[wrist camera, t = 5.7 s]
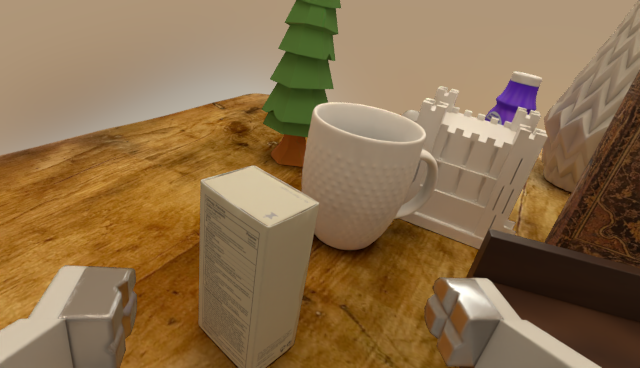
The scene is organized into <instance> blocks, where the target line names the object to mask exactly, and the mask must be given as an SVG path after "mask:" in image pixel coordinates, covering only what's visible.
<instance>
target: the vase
mask: <svg viewBox="0 0 640 368" xmlns="http://www.w3.org/2000/svg"><path fill="white" fill-rule="evenodd" d="M639 70H640V0H639V1H638V2H637V3H636V4H635V5H634V8H633V9H632V10H631V11H630V12H629V13H628V14H627V16H626V17H625V18H624V20H623V21H622V23H621V24H620V25H619V26H618V28H617V30H616V31H615V32H614V34H613V35H612V36H611V37H610V38H609V39H608V40H607V41H606V42H605V44H604V45H603V46H602V47H601V48H600V49H599V50H598V52H597V54H596V55H595V56H594V57H593V58H592V60H591V61H590V62H589V63H588V64H587V66H586V67H585V68H584V69H583V70H582V71H581V72H580V73H579V74H578V75H577V77H576V78H575V80H574V82H573V83H572V85H571V86H570V87H569V88H568V89H567V91H566V92H565V93H564V94H563V95H562V96H561V97H560V98H559V100H558V101H557V102H556V104H555V105H554V106H553V107H552V108H551V109H550V110H549V111H548V113H547V115H546V116H545V118H544V122H545V131H546V134H547V136H548V137H547V139H546V141H545V143H544V145H543V150H542V162H543V164H544V170H543V171H544V177H545V178H546V180H548V181H549V182H550V183H553V185H555V186H557V187H559V188H561V189H564V190H566V191H569V192H572V191H573V190H574V188H575V186H576V184H577V182H578V181H579V179H580V177H581V175H582V173H583V171H584V170H585V168H586V166H587V164H588V162H589V161H590V159H591V157H592V155H593V153H594V151H595V150H596V148H597V146H598V144H599V142H600V141H601V139H602V137H603V135H604V133H605V131H606V130H607V128H608V126H609V124H610V122H611V121H612V119H613V117H614V115H615V113H616V112H617V110H618V108H619V106H620V104H621V102H622V101H623V99H624V97H625V95H626V93H627V92H628V90H629V88H630V86H631V84H632V82H633V81H634V79H635V77H636V75H637V73H638V72H639Z"/></svg>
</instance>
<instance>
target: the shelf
mask: <svg viewBox="0 0 640 368" xmlns="http://www.w3.org/2000/svg"><path fill="white" fill-rule="evenodd" d="M466 278H487V279H488V280H490V281H491V282H492V283H493V284H494V285H495V287H496V288H497V289H498V291H499V292H500V293H501V294H502V296H503V297H504V298H505V299H506V301H507V302H508V303H509V305H510V306H511V307H512V308H513V310H514V311H515V312H516V313H517V315H518V316H519V317H520V319H521V320H527V321H529V322H530V323H532V324H533V325H535V326H536V327H538V328H540V329H541V330H543V331H544V332H546V333H548V334H549V335H551V336H552V337H554V338H555V339H557V340H559V341H560V342H562V343H563V344H565V345H567V346H568V347H570V348H571V349H573V350H574V351H576V352H578V353H579V354H581V355H582V356H584V357H586V358H587V359H589V360H590V361H592V362H593V363H595V364H597V365H598V366H600V367H601V368H640V268H638V267H634V266H630V265H626V264H622V263H619V262H615V261H611V260H607V259H603V258H599V257H596V256H592V255H588V254H584V253H580V252H577V251H573V250H569V249H565V248H561V247H558V246H554V245H550V244H546V243H542V242H539V241H535V240H531V239H527V238H523V237H520V236H516V235H512V234H508V233H504V232H501V231H497V230H493V229H488V231H487V233H486V236H485V238H484V240H483V242H482V244H481V246H480V249H479V251H478V253H477V255H476V257H475V259H474V262H473V264H472V266H471V268H470V270H469V272H468V275H467V277H466ZM460 368H475V366H460Z"/></svg>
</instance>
